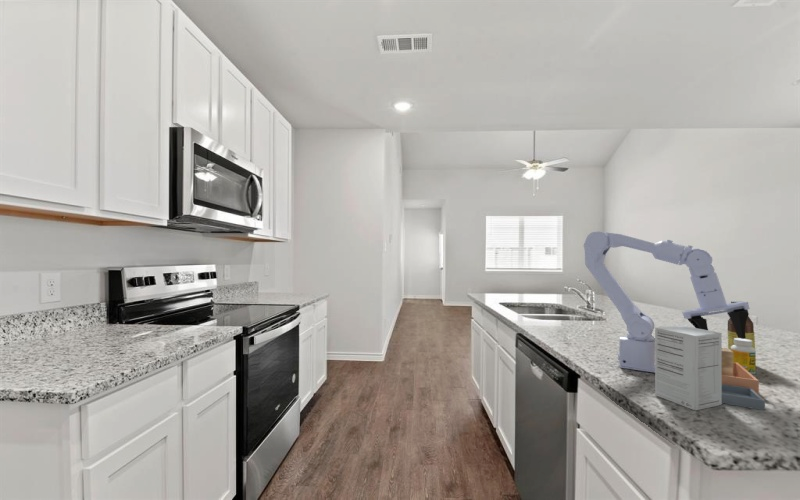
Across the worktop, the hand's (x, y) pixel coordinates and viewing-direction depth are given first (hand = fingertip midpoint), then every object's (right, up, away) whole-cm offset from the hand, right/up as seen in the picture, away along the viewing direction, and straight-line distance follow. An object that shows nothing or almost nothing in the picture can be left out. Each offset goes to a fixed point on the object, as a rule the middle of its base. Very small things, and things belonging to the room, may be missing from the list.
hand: (725, 340), depth 97 cm
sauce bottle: (+20, -12, +17) cm, 29 cm away
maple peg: (-1, -11, 0) cm, 11 cm away
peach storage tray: (-1, -11, 0) cm, 11 cm away
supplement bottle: (+13, -12, +9) cm, 20 cm away
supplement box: (-20, -11, -12) cm, 26 cm away
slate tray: (-8, -11, -11) cm, 18 cm away
